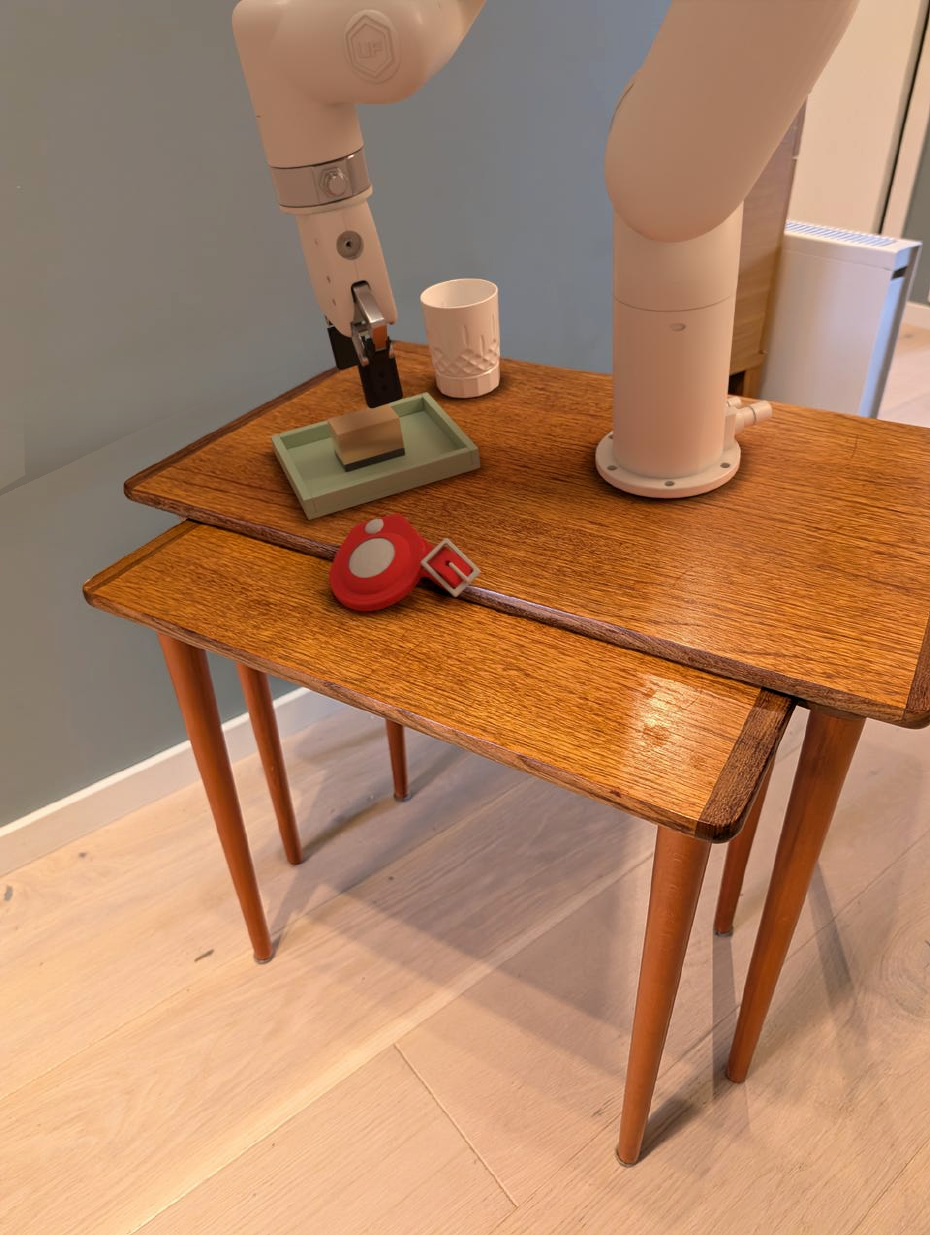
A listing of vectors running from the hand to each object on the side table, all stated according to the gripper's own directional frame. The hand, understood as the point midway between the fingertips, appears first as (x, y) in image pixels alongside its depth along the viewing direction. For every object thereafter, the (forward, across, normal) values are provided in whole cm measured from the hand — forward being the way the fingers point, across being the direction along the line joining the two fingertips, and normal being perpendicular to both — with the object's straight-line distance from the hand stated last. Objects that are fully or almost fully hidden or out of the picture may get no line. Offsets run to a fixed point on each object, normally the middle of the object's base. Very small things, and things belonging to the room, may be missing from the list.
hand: (369, 383), depth 81 cm
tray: (+8, +1, +1) cm, 8 cm away
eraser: (+7, +1, +1) cm, 8 cm away
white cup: (+8, +11, -13) cm, 19 cm away
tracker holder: (+8, -19, +5) cm, 22 cm away
